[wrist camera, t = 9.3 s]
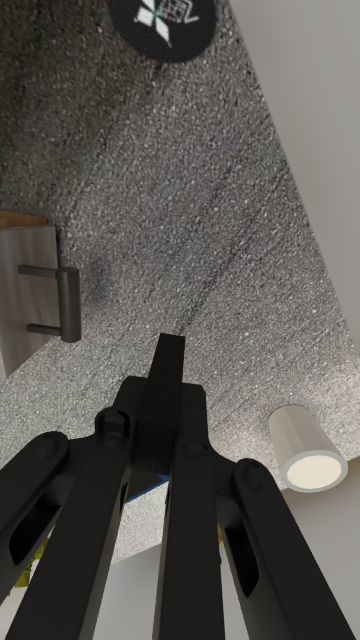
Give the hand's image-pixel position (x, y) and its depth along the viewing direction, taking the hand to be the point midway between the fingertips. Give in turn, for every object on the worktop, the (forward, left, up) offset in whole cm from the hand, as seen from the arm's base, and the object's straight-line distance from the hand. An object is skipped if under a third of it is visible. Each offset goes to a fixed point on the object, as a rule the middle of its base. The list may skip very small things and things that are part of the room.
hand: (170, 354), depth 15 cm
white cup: (-17, +15, -12) cm, 26 cm away
